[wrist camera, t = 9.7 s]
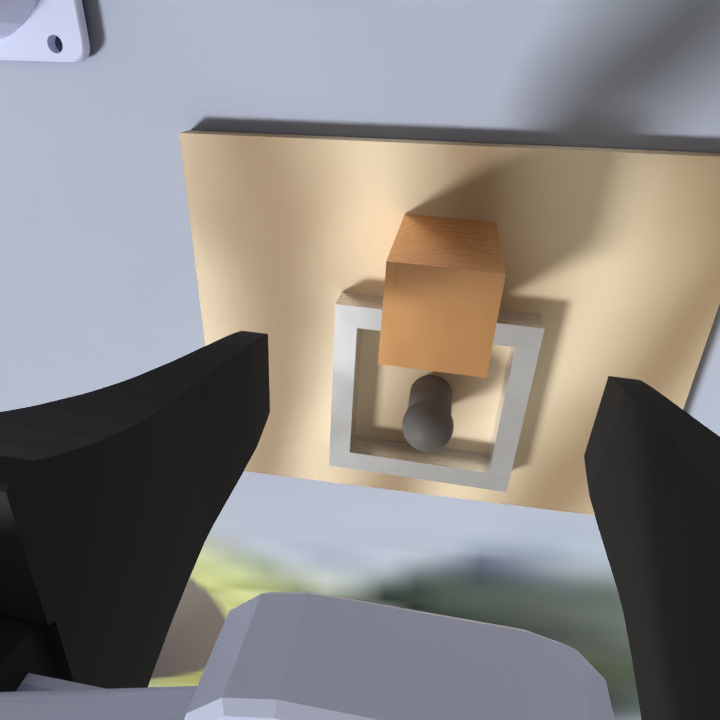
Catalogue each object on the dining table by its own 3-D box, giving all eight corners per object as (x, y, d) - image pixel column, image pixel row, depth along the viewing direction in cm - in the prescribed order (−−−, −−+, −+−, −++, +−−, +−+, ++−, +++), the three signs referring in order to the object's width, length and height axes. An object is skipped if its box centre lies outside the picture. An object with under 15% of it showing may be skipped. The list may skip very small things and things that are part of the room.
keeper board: (226, 456, 26) (190, 516, 23) (189, 130, 20) (131, 145, 16) (639, 507, 24) (668, 583, 20) (757, 154, 17) (829, 179, 14)
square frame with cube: (345, 208, 19) (309, 252, 15) (560, 228, 18) (589, 282, 14) (334, 447, 24) (305, 534, 20) (504, 472, 23) (513, 569, 19)
